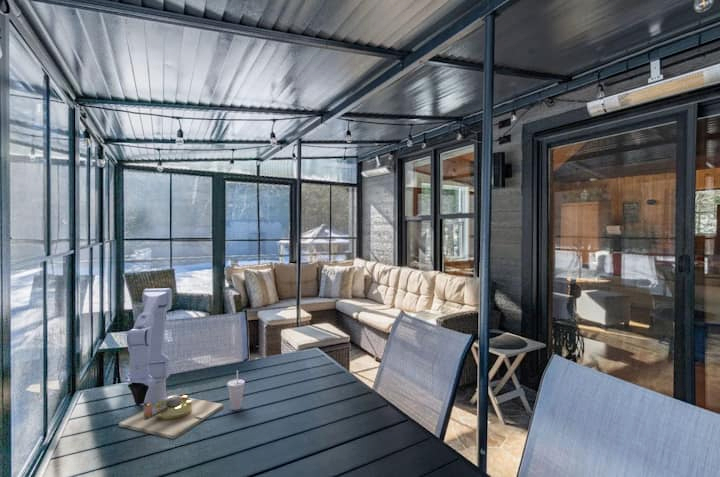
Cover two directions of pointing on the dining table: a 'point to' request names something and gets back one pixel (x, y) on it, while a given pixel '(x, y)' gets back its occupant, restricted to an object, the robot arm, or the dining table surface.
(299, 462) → the dining table surface
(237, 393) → the smoothie
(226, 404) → the dining table surface
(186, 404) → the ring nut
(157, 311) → the robot arm
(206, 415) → the base plate
